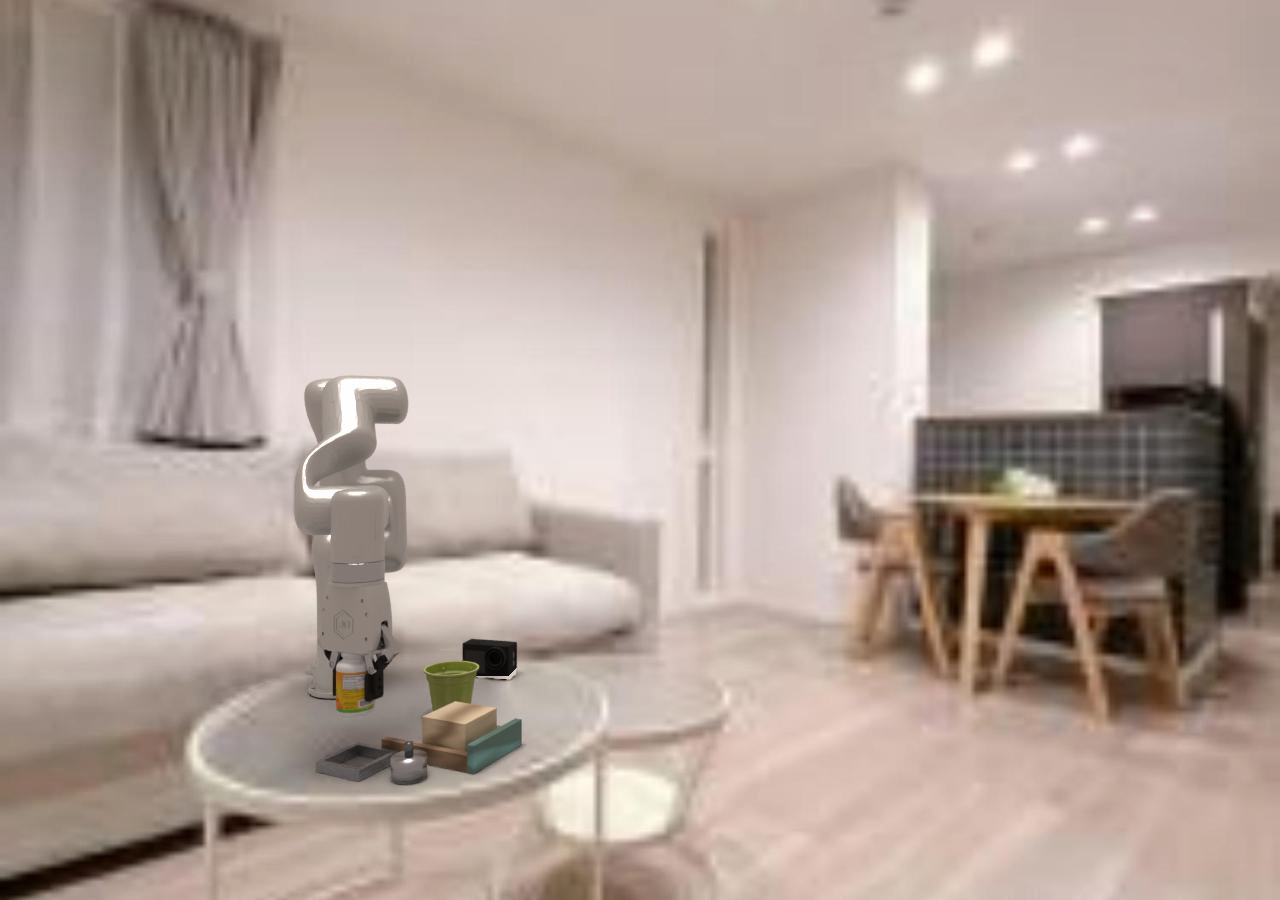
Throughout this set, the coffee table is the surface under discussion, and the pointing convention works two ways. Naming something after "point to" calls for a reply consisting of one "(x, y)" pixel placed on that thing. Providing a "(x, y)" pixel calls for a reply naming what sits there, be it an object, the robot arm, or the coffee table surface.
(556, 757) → the coffee table surface
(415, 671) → the coffee table surface
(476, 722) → the bay
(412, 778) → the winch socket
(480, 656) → the digital camera
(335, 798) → the coffee table surface
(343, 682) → the supplement bottle
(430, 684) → the plant pot
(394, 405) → the robot arm
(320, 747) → the coffee table surface
